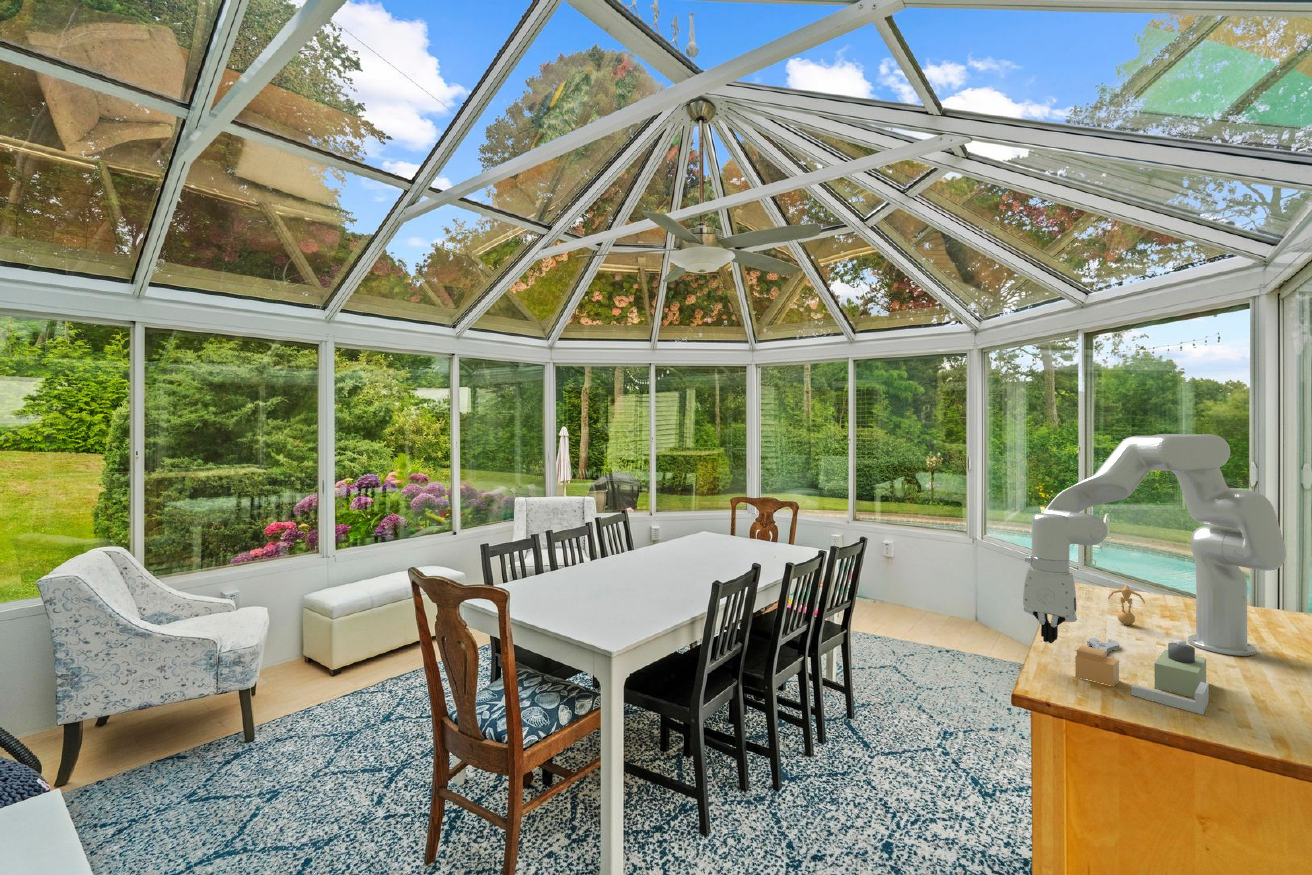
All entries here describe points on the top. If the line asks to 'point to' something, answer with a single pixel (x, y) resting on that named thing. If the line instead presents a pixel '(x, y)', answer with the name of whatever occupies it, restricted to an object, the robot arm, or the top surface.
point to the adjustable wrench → (1103, 644)
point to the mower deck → (1179, 679)
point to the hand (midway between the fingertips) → (1049, 640)
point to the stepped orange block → (1096, 666)
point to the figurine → (1127, 616)
